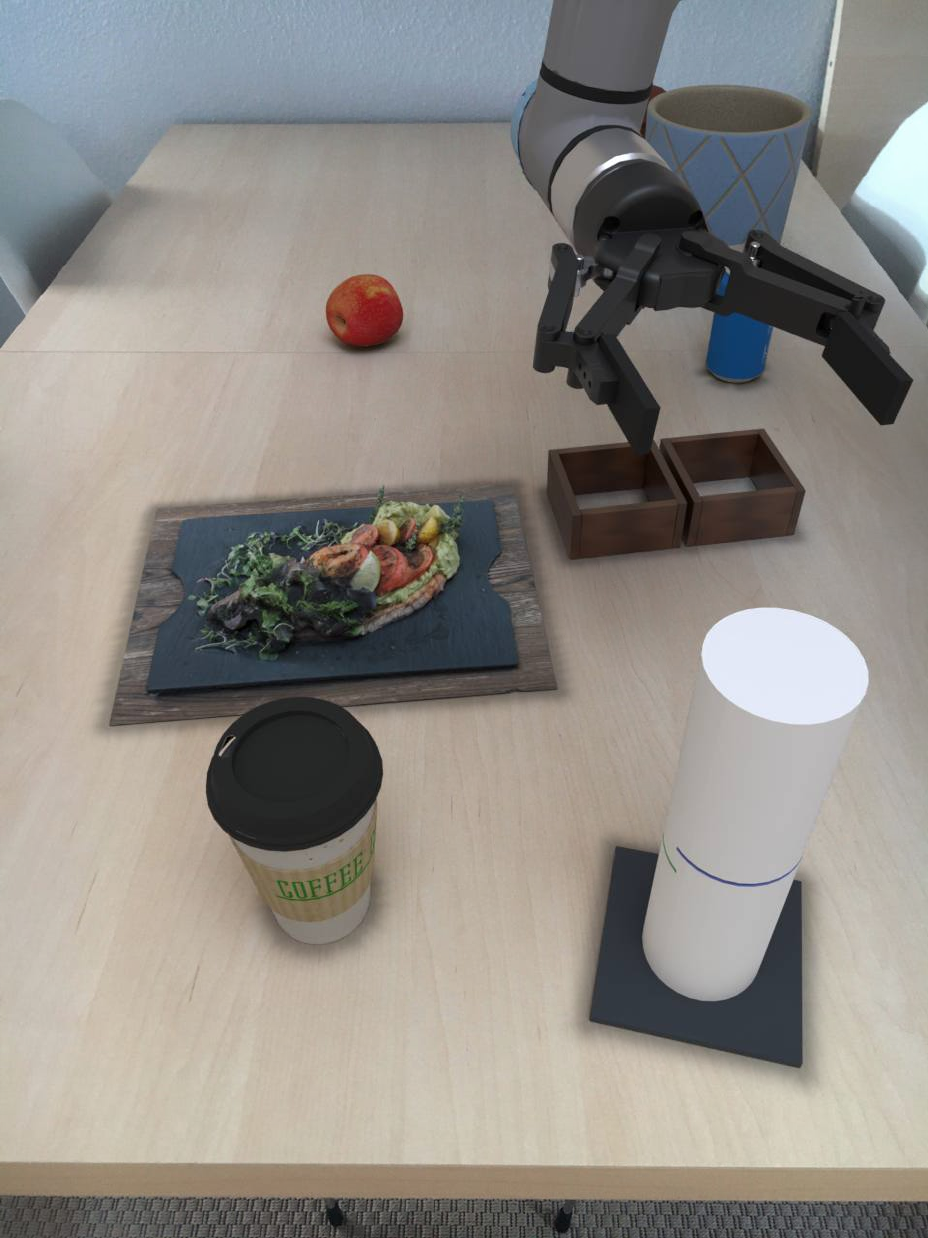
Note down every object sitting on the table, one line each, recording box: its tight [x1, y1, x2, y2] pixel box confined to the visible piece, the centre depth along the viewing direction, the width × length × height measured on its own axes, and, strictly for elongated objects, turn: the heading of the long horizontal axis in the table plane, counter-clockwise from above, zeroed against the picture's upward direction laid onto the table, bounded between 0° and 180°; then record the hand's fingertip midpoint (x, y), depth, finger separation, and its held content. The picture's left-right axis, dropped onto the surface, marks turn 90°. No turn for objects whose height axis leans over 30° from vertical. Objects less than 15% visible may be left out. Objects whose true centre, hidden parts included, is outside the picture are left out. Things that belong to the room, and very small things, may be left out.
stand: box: [545, 428, 807, 560], centre depth 91 cm, size 21×10×5 cm, turn 98°
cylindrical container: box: [642, 607, 870, 1001], centre depth 52 cm, size 7×7×25 cm
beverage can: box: [705, 268, 774, 384], centre depth 108 cm, size 6×6×12 cm
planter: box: [645, 84, 812, 291], centre depth 124 cm, size 19×19×20 cm
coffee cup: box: [205, 697, 384, 945], centre depth 59 cm, size 10×10×15 cm
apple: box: [325, 273, 404, 347], centre depth 116 cm, size 8×8×8 cm
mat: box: [589, 845, 804, 1069], centre depth 61 cm, size 12×12×1 cm
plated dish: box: [108, 483, 558, 726], centre depth 84 cm, size 35×28×7 cm
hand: (776, 417), depth 49 cm, fingers open, 13 cm apart
